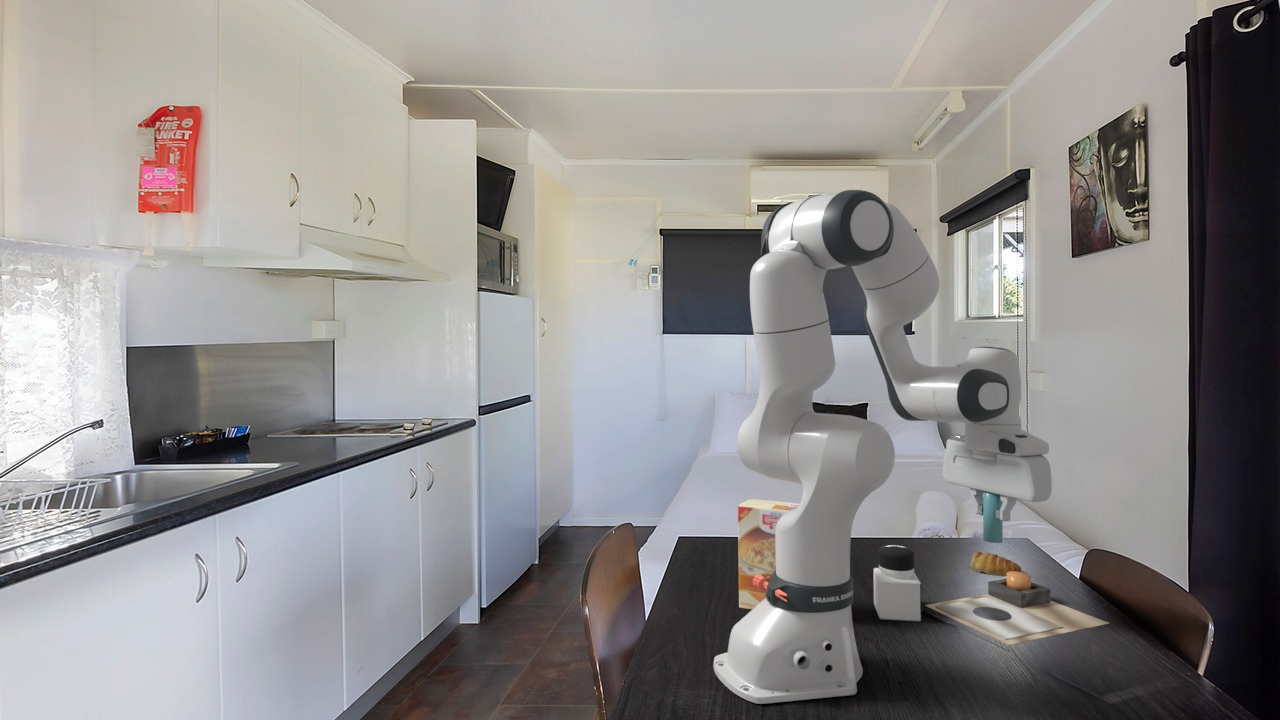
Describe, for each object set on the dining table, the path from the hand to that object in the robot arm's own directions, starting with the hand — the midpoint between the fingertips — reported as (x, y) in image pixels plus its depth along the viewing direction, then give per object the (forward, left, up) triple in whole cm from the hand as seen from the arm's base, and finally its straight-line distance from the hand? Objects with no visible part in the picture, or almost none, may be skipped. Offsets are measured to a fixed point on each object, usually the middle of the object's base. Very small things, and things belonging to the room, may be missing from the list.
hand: (992, 517), depth 118 cm
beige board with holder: (+4, -1, -18) cm, 19 cm away
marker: (0, 0, -4) cm, 4 cm away
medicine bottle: (-13, +9, -19) cm, 25 cm away
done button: (+11, +4, -16) cm, 20 cm away
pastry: (+22, +20, -19) cm, 36 cm away
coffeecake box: (-31, +19, -19) cm, 41 cm away
